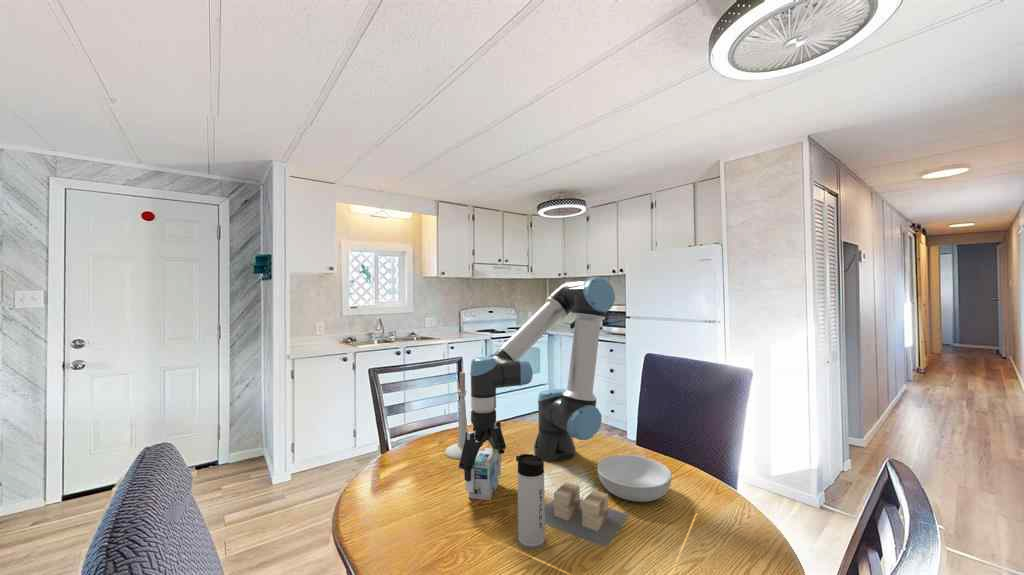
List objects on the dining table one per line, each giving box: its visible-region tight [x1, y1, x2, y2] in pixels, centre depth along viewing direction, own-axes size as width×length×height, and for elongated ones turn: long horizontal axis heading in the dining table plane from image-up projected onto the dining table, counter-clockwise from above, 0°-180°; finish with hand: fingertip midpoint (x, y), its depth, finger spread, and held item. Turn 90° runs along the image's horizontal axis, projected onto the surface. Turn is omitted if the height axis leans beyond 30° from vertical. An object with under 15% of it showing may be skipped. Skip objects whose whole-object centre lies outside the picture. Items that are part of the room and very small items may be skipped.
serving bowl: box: [596, 454, 673, 503], centre depth 114 cm, size 21×21×7 cm
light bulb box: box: [468, 447, 500, 501], centre depth 116 cm, size 11×7×11 cm, turn 168°
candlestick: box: [445, 371, 468, 460], centre depth 145 cm, size 13×13×30 cm
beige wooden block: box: [553, 481, 581, 521], centre depth 103 cm, size 7×4×6 cm, turn 145°
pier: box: [582, 489, 609, 531], centre depth 99 cm, size 7×4×6 cm, turn 145°
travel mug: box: [515, 453, 546, 551], centre depth 91 cm, size 6×7×20 cm
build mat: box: [545, 498, 630, 548], centre depth 101 cm, size 16×20×1 cm
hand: (483, 482), depth 116 cm, fingers closed on light bulb box, 12 cm apart
